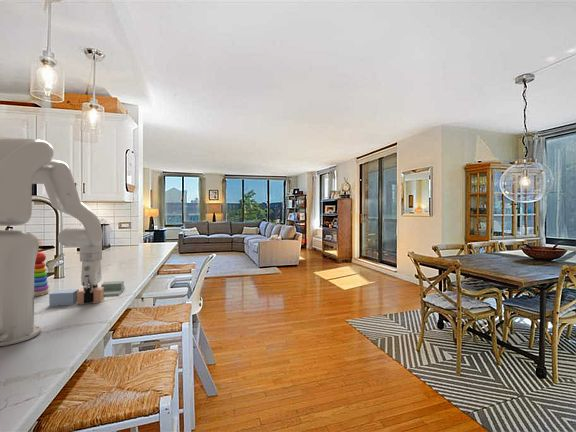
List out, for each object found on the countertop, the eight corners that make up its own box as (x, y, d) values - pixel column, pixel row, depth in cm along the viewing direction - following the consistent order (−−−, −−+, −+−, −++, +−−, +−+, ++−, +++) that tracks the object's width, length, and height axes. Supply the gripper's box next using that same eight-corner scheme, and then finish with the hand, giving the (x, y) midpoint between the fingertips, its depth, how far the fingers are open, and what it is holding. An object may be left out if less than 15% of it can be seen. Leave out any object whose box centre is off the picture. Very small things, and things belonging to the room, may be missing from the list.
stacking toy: (20, 297, 121) (20, 253, 121) (32, 292, 129) (32, 251, 129) (43, 296, 123) (43, 253, 123) (52, 291, 131) (52, 250, 131)
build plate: (118, 295, 126) (118, 286, 126) (75, 298, 121) (75, 289, 121) (124, 287, 139) (124, 279, 139) (86, 290, 133) (86, 281, 133)
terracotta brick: (100, 302, 117) (100, 290, 117) (77, 304, 114) (77, 291, 114) (103, 298, 122) (103, 287, 121) (81, 300, 119) (81, 288, 119)
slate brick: (72, 305, 113) (73, 292, 113) (49, 306, 111) (49, 293, 111) (78, 301, 118) (78, 289, 118) (56, 302, 116) (56, 290, 116)
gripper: (95, 259, 111) (95, 306, 111) (107, 253, 127) (106, 293, 127) (72, 260, 108) (72, 308, 109) (87, 254, 124) (87, 295, 125)
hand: (90, 299), depth 118 cm, fingers closed on terracotta brick, 5 cm apart
